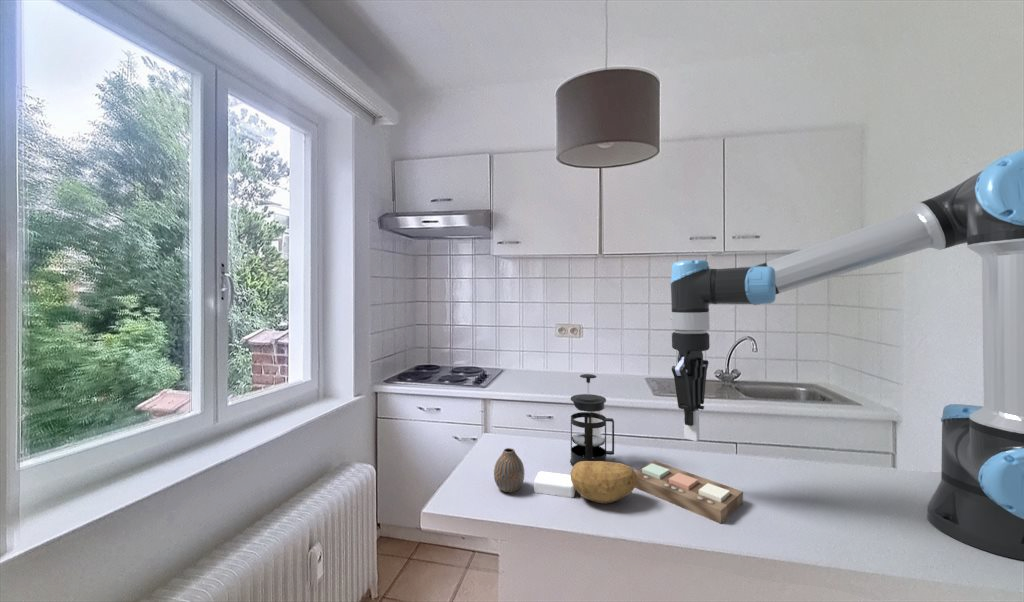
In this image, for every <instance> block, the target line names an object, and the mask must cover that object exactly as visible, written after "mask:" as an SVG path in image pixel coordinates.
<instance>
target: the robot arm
mask: <svg viewBox="0 0 1024 602" xmlns="http://www.w3.org/2000/svg"><path fill="white" fill-rule="evenodd" d="M962 244H963V245H964V244H967V245H966V246H967V248H968V249H969V250H971V251H972V252H974V253H976V254H977V255H979V256H980V257H981V280H982V281H981V283H982V284H981V285H982V288H981V291H982V293H981V294H982V295H981V296H982V299H981V300H982V359H983V360H982V364H983V366H982V369H983V371H982V372H983V384H982V385H983V406H982V405H971V404H963V403H962V404H960V403H959V404H958V403H957V404H956V403H952V404H951V403H950V404H946V405H945V406H944V407H943V409H942V415H941V418H940V421H941V463H940V464H941V465H940V466H941V469H940V470H941V471H940V472H941V475H940V477H941V478H940V479H941V480H940V482H939V484H938V486H937V488H936V489H935V491H934V493H933V495H932V497H931V499H930V500H929V502H928V504H927V508H926V509H927V510H926V511H927V512H926V513H927V515H926V518H927V520H928V521H929V523H930V524H931V525H932V526H933V527H935V528H936V529H937V530H939V531H940V532H942V533H944V534H945V535H947V536H949V537H951V538H953V539H955V540H957V541H959V542H962V543H964V544H967V545H969V546H972V547H974V548H978V549H980V550H982V551H986V552H989V553H991V554H996V555H999V556H1003V557H1006V558H1011V559H1014V560H1015V559H1016V560H1021V561H1024V149H1022V150H1021V149H1020V150H1017V151H1016V152H1012V153H1010V154H1006V155H1004V156H1003V157H1000V158H997V159H996V160H995V161H993V162H992V163H990V164H988V165H987V166H986V167H985V168H984V169H983V170H981V171H979V172H977V173H975V174H974V175H972V176H970V177H968V179H966V180H964V181H963V182H961V183H959V184H957V185H955V186H954V187H952V188H950V189H948V190H946V191H944V192H942V193H940V194H938V195H936V196H934V197H933V196H932V197H930V198H928V199H926V200H922V201H920V202H917V203H916V204H915V205H914V206H913V208H912V210H910V211H908V212H906V213H901V214H899V215H896V216H894V217H891V218H888V219H885V220H882V221H879V222H876V223H874V224H871V225H868V226H865V227H863V228H860V229H857V230H854V231H851V232H849V233H845V234H842V235H840V236H837V237H833V238H831V239H828V240H826V241H823V242H820V243H817V244H814V245H812V246H809V247H806V248H803V249H801V250H800V249H799V250H797V251H794V252H792V253H789V254H787V255H783V256H780V257H777V258H775V259H771V260H769V261H766V262H763V263H760V264H758V265H757V264H756V265H753V266H744V267H743V266H741V267H730V268H727V267H726V268H710V266H709V262H708V261H707V260H705V259H696V260H695V259H694V260H691V259H690V260H688V259H687V260H680V261H679V260H678V261H676V262H674V263H672V265H671V273H670V275H671V276H670V277H671V278H670V282H669V283H670V298H671V299H670V300H671V316H670V320H671V329H672V330H673V332H672V333H671V348H672V349H674V350H676V351H678V356H677V365H673V366H671V373H672V375H673V378H674V379H673V381H674V387H675V392H676V393H675V394H676V400H677V406H678V408H679V409H680V410H683V438H684V439H687V440H690V441H694V442H699V441H700V410H703V411H704V409H705V405H704V403H705V393H706V382H707V373H708V372H707V371H708V368H709V367H708V366H709V361H708V360H707V359H704V354H703V352H706V351H708V350H709V349H710V345H711V344H710V333H709V332H708V331H709V330H710V305H753V306H756V305H763V304H767V305H768V304H772V303H774V302H775V301H776V295H778V294H782V293H785V292H789V291H792V290H796V289H798V288H801V287H804V286H808V285H811V284H814V283H818V282H821V281H824V280H828V279H830V278H834V277H837V276H838V277H839V276H840V275H844V274H847V273H848V274H849V273H850V272H853V271H858V270H861V269H864V268H867V267H869V266H874V265H877V264H880V263H883V262H884V263H885V262H887V261H890V260H893V259H897V258H900V257H903V256H907V255H909V254H914V253H916V252H919V251H922V250H925V249H934V250H938V251H941V250H944V249H947V248H948V249H949V248H952V247H956V246H958V245H962Z"/></svg>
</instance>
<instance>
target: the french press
mask: <svg viewBox="0 0 1024 602" xmlns="http://www.w3.org/2000/svg"><path fill="white" fill-rule="evenodd" d="M579 377H580V378H583V379H586V380H585V381H586V383H587V393H584V394H583V393H582V394H575V395H572V396H571V397H570V400H571V402H573V403H572V404H573V405H574V406H575V408H576V409H577V410H578V411H581V412H575V413H573V414H571V415H570V459H569V464H570V463H571V464H570V465H571V466H572V467H573V466H574V465H575V464H576V463H578V462H580V461H604V462H607V455H609V456H610V455H612V456H614V454H615V420H614V418H611V417H610V418H609V417H608V418H607V417H606V416H605V415H603V414H601V413H598V412H600V411H603V410H604V409H605V403H606V402H607V399H606V397H604V396H601V395H598V394H590V383H591V379H596V378H597V375H594V374H591V373H586V374H583V373H582V374H580V376H579ZM596 412H597V413H596ZM579 418H583V419H584V421H578V420H576V419H579ZM592 418H593V419H598V420H600V421H599V422H592ZM607 422H610V423H611V443H612V445H611V450H607ZM573 426H574V427H578V428H582V429H584V432H582V433H576V434H573ZM603 427H604V437H603V436H602V435H599V434H597V433H593V430H594V429H599V428H603ZM573 444H575V445H574V446H573ZM603 445H604V447H602V446H603Z"/></svg>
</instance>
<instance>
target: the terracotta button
mask: <svg viewBox="0 0 1024 602" xmlns="http://www.w3.org/2000/svg"><path fill="white" fill-rule="evenodd" d="M669 483H671V484H673V485H676V486H678V487H681V488H684V489H686V490H691V489H692V488H694V487H695V486H696V485H698V479H695V478H692V477H689V476H687V475H684V474H681V473H677V474H675V475H674V476H672V477H671V478H669Z"/></svg>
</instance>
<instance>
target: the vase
mask: <svg viewBox="0 0 1024 602" xmlns="http://www.w3.org/2000/svg"><path fill="white" fill-rule="evenodd" d="M493 478H494V482H495V484H496V486H497V488H498V489H499V490H500V491H502V492H503V491H504V492H503V493H507V492H511V493H515V492H517V491H518V490H520V488H521V487H522V485H523V483H524V481H525V467H524V464H523V462H522V459H521V458H520V457H519V456H518V455H517V453H516V451H515V449H514V448H512V447H505V448H504V449H503V451H502V453H501V455H500V456H499V457H498V458H497V460H496V462H495V464H494V468H493Z"/></svg>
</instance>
